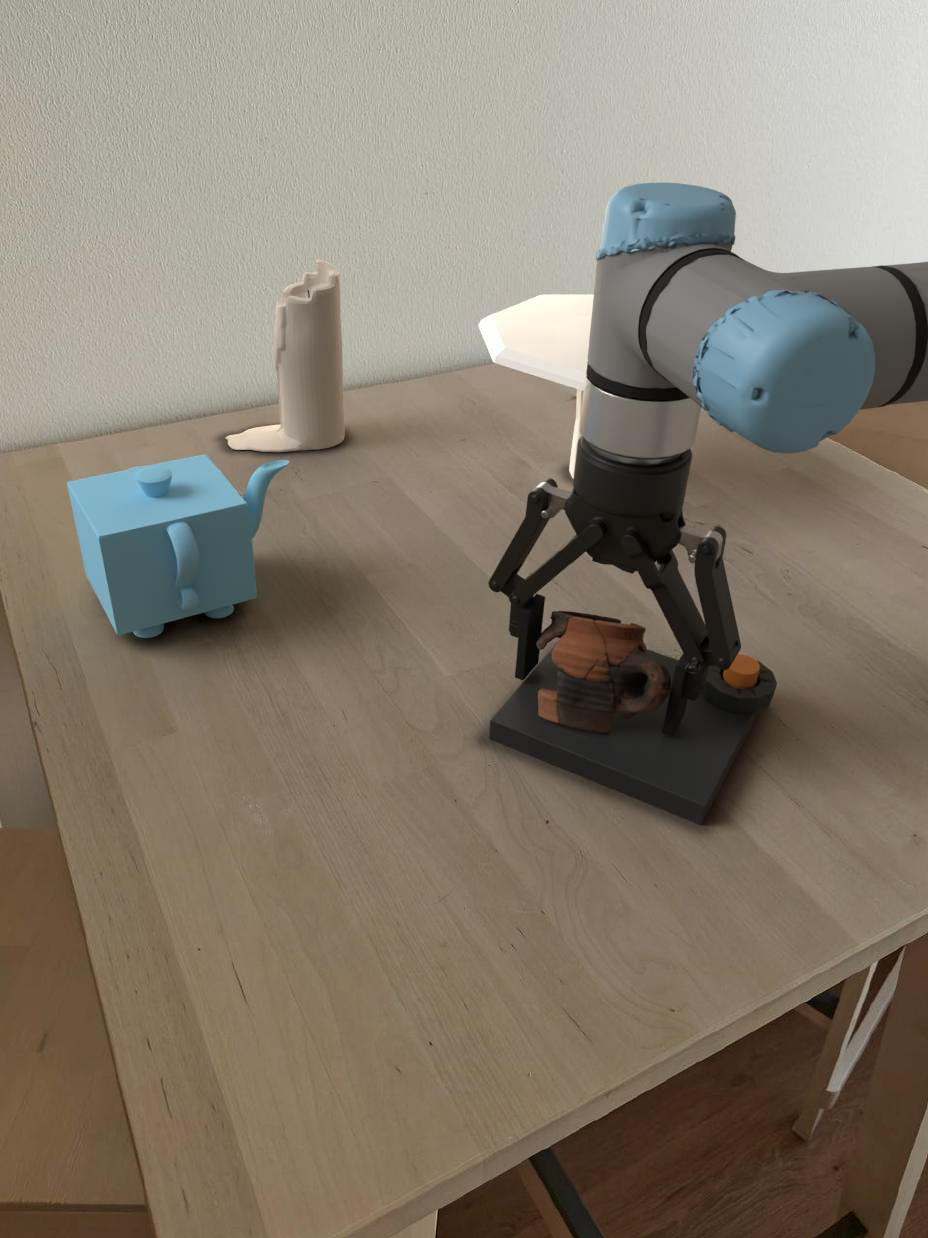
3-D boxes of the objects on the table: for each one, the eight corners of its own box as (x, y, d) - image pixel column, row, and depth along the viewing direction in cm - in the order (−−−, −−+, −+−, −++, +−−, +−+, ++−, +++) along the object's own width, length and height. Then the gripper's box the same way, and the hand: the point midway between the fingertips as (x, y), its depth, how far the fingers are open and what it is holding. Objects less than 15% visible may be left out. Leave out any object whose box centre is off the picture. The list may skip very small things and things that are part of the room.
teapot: (129, 668, 83) (103, 531, 75) (82, 576, 94) (55, 449, 86) (330, 610, 91) (324, 481, 83) (265, 532, 101) (255, 412, 94)
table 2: (707, 556, 101) (739, 398, 91) (438, 511, 106) (442, 358, 97) (722, 441, 123) (750, 305, 114) (499, 409, 128) (508, 276, 119)
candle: (223, 430, 120) (205, 259, 109) (339, 421, 124) (333, 254, 112) (228, 457, 115) (210, 279, 103) (349, 447, 118) (344, 273, 106)
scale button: (760, 676, 80) (764, 660, 79) (750, 694, 78) (754, 678, 77) (728, 665, 81) (732, 650, 80) (718, 682, 79) (721, 667, 78)
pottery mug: (500, 710, 78) (517, 604, 77) (570, 706, 85) (586, 610, 84) (631, 750, 70) (652, 634, 70) (696, 743, 77) (716, 637, 77)
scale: (774, 702, 82) (784, 669, 80) (711, 829, 71) (720, 793, 69) (576, 633, 89) (580, 601, 87) (488, 738, 77) (491, 703, 75)
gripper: (833, 465, 64) (762, 723, 77) (500, 381, 73) (485, 624, 86) (804, 514, 59) (732, 783, 71) (448, 417, 68) (440, 670, 80)
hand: (597, 696), depth 79 cm, fingers closed on pottery mug, 12 cm apart
